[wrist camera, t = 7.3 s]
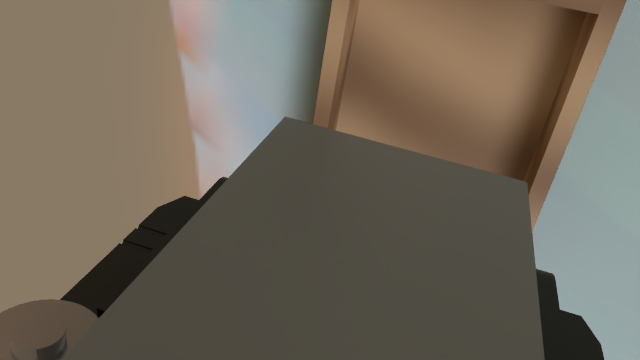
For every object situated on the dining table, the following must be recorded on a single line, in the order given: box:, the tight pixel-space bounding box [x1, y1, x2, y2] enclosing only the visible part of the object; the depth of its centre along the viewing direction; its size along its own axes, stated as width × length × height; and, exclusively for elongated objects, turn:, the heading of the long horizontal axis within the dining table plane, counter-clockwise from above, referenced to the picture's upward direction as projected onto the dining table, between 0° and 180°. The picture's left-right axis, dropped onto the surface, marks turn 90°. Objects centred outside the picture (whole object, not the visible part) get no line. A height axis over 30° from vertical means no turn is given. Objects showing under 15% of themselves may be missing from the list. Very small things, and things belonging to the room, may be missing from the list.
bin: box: [313, 0, 626, 230], centre depth 22 cm, size 12×9×2 cm
